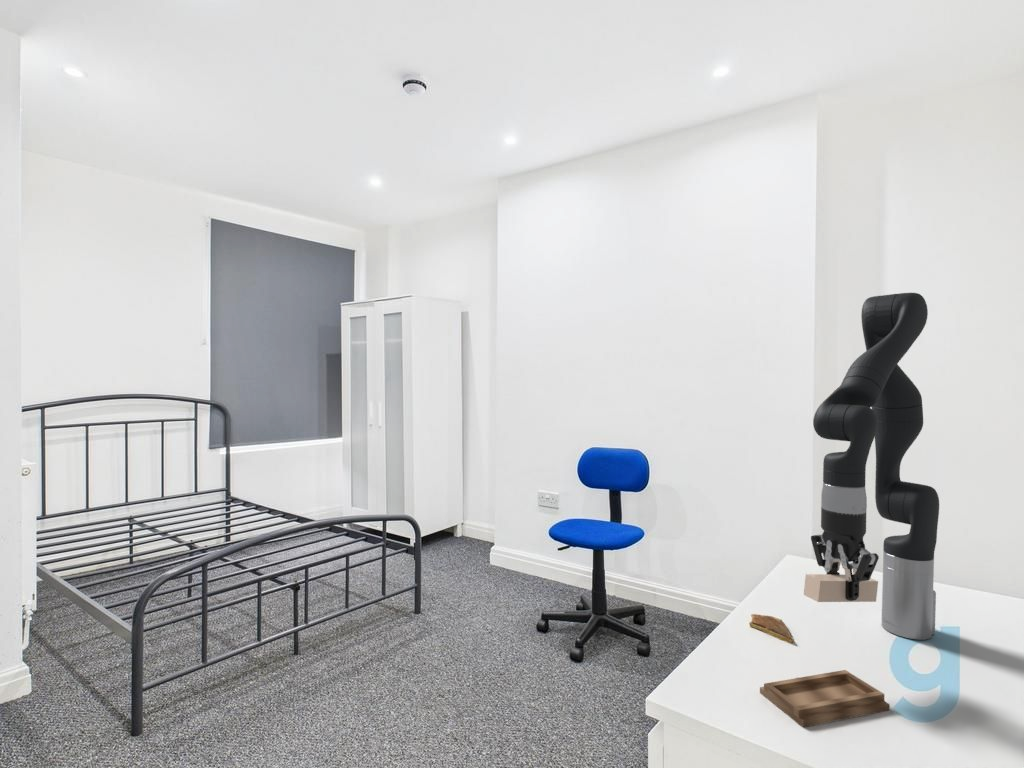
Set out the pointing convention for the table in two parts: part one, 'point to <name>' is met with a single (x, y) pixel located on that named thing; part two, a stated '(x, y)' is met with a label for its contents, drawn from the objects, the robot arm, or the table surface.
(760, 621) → the shard
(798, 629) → the table surface
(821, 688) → the brown wooden tray
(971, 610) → the table surface
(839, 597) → the beige rectangular block
